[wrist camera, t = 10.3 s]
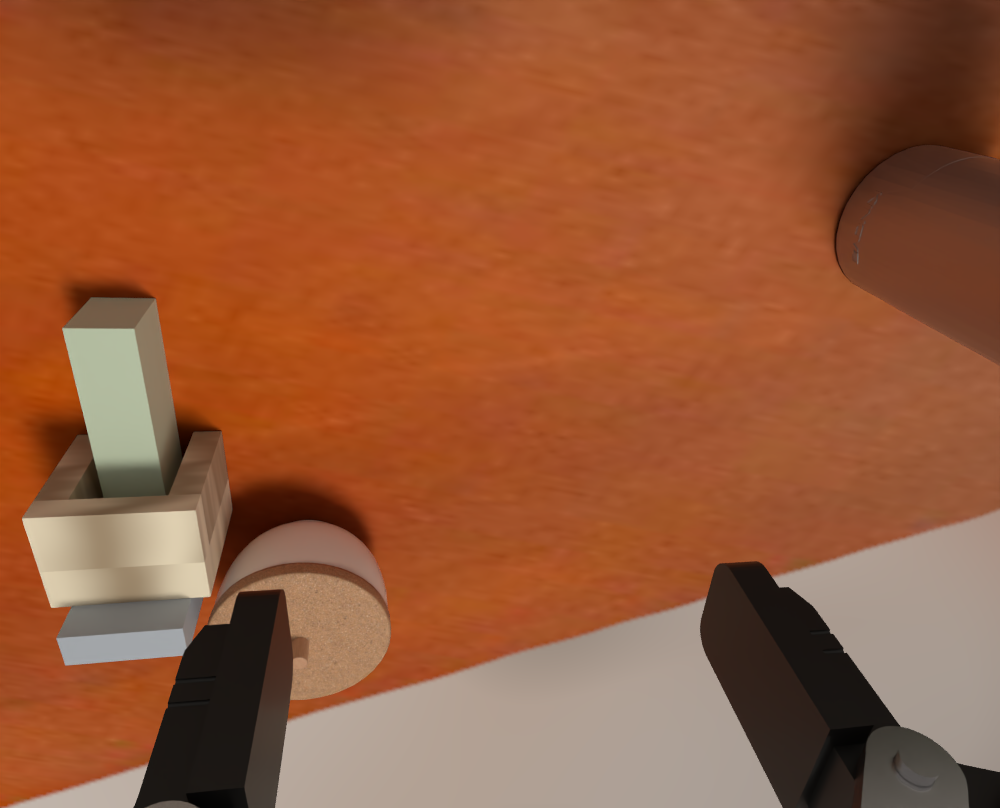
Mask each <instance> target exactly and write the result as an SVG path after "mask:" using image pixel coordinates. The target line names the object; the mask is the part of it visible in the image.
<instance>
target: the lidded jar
mask: <svg viewBox="0 0 1000 808" xmlns="http://www.w3.org/2000/svg"><path fill="white" fill-rule="evenodd" d="M275 589H283V590H284V592H285V596H286V603H287V611H288V618H289V626H290V634H291V641H292V649H293V680H292V689H291V696H290V700H305V699H312V698H319V697H323V696H327V695H331V694H334V693H336V692H339V691H342V690H344V689H346V688H348V687H350V686H352V685H355V684H356V683H357V682H359V681H360V680H362V679H363V678H365V677H366V676H367V675H368V674H369V673H371V672H372V671H373V670H374V669H375V667H376V666H377V665H378V664H379V663H380V662H381V660H382V658H383V657H384V655H385V653H386V652H387V649H388V646H389V643H390V636H391V624H390V614H389V611H388V605H387V595H386V589H385V584H384V580H383V577H382V574H381V571H380V569H379V566H378V563H377V562H376V560H375V558H374V556H373V555H372V553H371V552H370V551H369V549H368V548H367V547H366V546H365V544H364V543H363V542H362V541H360V540H359V539H358V538H357V537H356V536H354V535H353V534H352V533H350V532H348V531H347V530H345V529H343V528H341V527H338V526H336V525H333V524H330V523H327V522H323V521H318V520H299V521H295V522H291V523H286V524H282V525H280V526H277V527H274V528H272V529H270V530H268V531H266V532H264V533H263V534H261V535H259V536H258V537H257V538H255V539H254V540H253V541H251V542H250V543H249V544H248V545H247V546H246V547H245V548H244V549H243V550H242V551H241V552H240V553H239V554H238V556H237V557H236V559H235V560H234V562H233V563H232V565H231V566H230V568H229V570H228V571H227V573H226V576H225V578H224V580H223V582H222V585H221V587H220V589H219V592H218V595H217V598H216V601H215V605H214V608H213V610H212V612H211V615H210V617H209V621H208V625H217V624H230V620H231V616H232V612H233V608H234V604H235V600H236V597H237V595H238V593H239V592H242V591H259V590H275Z"/></svg>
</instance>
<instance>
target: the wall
mask: <svg viewBox="0 0 1000 808" xmlns="http://www.w3.org/2000/svg"><path fill="white" fill-rule="evenodd" d="M202 601H203V597H198V598H184V599H169V600H155V601H141V602H126V603H112V604H98V605H83V606H72V607H71V609H70V611H69V613H68V615H67V618H66V620H65V622H64V624H63V626H62V628H61V630H60V632H59V634H58V636H57V641H58V644H59V647H60V650H61V653H62V656H63V659H64V662H65V665H76V664H88V663H100V662H112V661H124V660H135V659H147V658H159V657H171V656H183V654H184V651H185V649H186V648H187V647H188V646H189V645H190V643H191V642H192V639H193V635H194V631H195V627H196V624H197V620H198V616H199V612H200V609H201V605H202Z"/></svg>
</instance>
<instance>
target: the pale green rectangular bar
mask: <svg viewBox="0 0 1000 808" xmlns="http://www.w3.org/2000/svg"><path fill="white" fill-rule="evenodd" d="M62 329H63V333H64V337H65V342H66V346H67V350H68V354H69V358H70V362H71V366H72V370H73V374H74V378H75V383H76V387H77V391H78V395H79V399H80V403H81V407H82V411H83V415H84V420H85V424H86V428H87V432H88V436H89V440H90V444H91V448H92V452H93V456H94V461H95V465H96V469H97V473H98V477H99V481H100V485H101V489H102V493H103V498H120V497H143V496H166V495H169V493H170V490H171V488H172V485H173V483H174V480H175V478H176V475H177V473H178V470H179V467H180V465H181V462H182V460H183V458H182V452H181V446H180V440H179V434H178V428H177V422H176V416H175V410H174V404H173V398H172V393H171V387H170V381H169V375H168V369H167V363H166V357H165V351H164V345H163V339H162V333H161V327H160V321H159V315H158V310H157V304H156V298H98V297H91V298H90V299H89V300H88V301H87V302H86V303H85V305H84V306H83V307H82V308H81V309H80V310H79V311H78V312H77V313H76V314H75V315H74V316H73V317H72V319H71V320H70V321H69V322H68V323H67V324H66V325H65V326H64V327H63V328H62Z"/></svg>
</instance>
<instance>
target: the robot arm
mask: <svg viewBox="0 0 1000 808" xmlns="http://www.w3.org/2000/svg"><path fill="white" fill-rule="evenodd" d="M836 251H837V256H838V261H839V264H840V266H841V268H842V270H843V272H844V274H845V276H846V277H847V278H848V279H849V280H850V281H851V282H852V283H853V284H855V285H857V286H858V287H860V288H862V289H864V290H865V291H867V292H869V293H871V294H872V295H874V296H876V297H878V298H880V299H881V300H883V301H885V302H887V303H888V304H890V305H892V306H894V307H895V308H897V309H899V310H900V311H902V312H904V313H906V314H908V315H909V316H911V317H913V318H915V319H917V320H918V321H920V322H922V323H924V324H926V325H928V326H929V327H931V328H933V329H935V330H937V331H938V332H940V333H942V334H944V335H946V336H947V337H949V338H951V339H953V340H955V341H956V342H958V343H960V344H962V345H964V346H966V347H967V348H969V349H971V350H973V351H975V352H976V353H978V354H980V355H982V356H984V357H985V358H987V359H989V360H991V361H993V362H994V363H996V364H998V365H1000V160H999V159H996V158H992V157H988V156H983V155H979V154H975V153H970V152H966V151H962V150H957V149H953V148H949V147H944V146H938V145H922V146H916V147H911V148H909V149H906V150H904V151H901V152H899V153H896V154H895V155H893V156H891V157H890V158H888V159H887V160H885V161H883V162H882V163H881V164H879V165H878V166H877V167H876V168H875V169H874V170H873V171H871V172H870V173H869V174H868V175H867V176H866V177H865V179H864V180H863V181H862V182H861V183H860V185H859V186H858V187H857V188H856V189H855V191H854V193H853V194H852V196H851V198H850V199H849V201H848V203H847V204H846V207H845V209H844V212H843V214H842V217H841V219H840V223H839V227H838V232H837V241H836ZM700 633H701V640H702V645H703V648H704V651H705V653H706V656H707V658H708V660H709V662H710V664H711V666H712V668H713V670H714V672H715V674H716V675H717V678H718V680H719V682H720V683H721V686H722V688H723V690H724V692H725V694H726V696H727V697H728V699H729V702H730V704H731V706H732V708H733V710H734V711H735V713H736V715H737V717H738V719H739V721H740V723H741V725H742V727H743V729H744V731H745V733H746V735H747V737H748V739H749V741H750V743H751V745H752V747H753V749H754V751H755V753H756V755H757V757H758V759H759V761H760V763H761V765H762V767H763V769H764V771H765V773H766V775H767V777H768V779H769V781H770V783H771V785H772V787H773V789H774V791H775V793H776V795H777V797H778V799H779V801H780V803H781V805H782V807H783V808H1000V772H996V771H990V770H986V769H981V768H976V767H972V766H967V765H963V764H958V763H956V761H955V760H954V759H953V758H952V757H951V755H950V754H949V753H948V752H947V751H946V750H944V749H943V748H942V747H941V746H940V745H938V744H937V743H936V742H934V741H933V740H931V739H930V738H928V737H926V736H924V735H923V734H921V733H919V732H916V731H914V730H911V729H908V728H904V727H900V725H899V724H898V723H897V721H896V720H895V719H894V717H893V716H892V714H891V713H890V712H889V710H888V709H887V708H886V706H885V705H884V704H883V702H882V701H881V699H880V698H879V696H878V695H877V694H876V692H875V691H874V690H873V688H872V687H871V685H870V684H869V683H868V681H867V680H866V679H865V677H864V676H863V674H862V673H861V672H860V670H859V669H858V668H857V666H856V665H855V663H854V662H853V661H852V660H851V658H850V657H849V655H848V654H847V653H844V651H843V647H842V646H841V644H840V643H839V641H838V640H837V639H836V637H835V636H834V635H833V634H830V629H829V628H828V626H827V625H826V623H825V622H824V621H823V619H822V618H821V617H820V615H819V614H818V612H817V611H816V610H815V608H814V607H813V606H812V605H810V604H809V603H808V602H807V601H806V600H804V599H803V598H802V597H800V596H799V595H798V594H797V593H795V592H794V591H793V590H792V589H790V588H789V587H784V588H779V587H778V585H777V584H776V582H775V581H774V579H773V578H772V576H771V575H770V574H769V572H768V571H767V569H766V568H765V567H764V565H762V564H761V563H760V562H757V561H754V562H738V563H722V564H719V565H717V566H716V568H715V570H714V573H713V577H712V581H711V585H710V588H709V592H708V596H707V599H706V603H705V607H704V611H703V614H702V618H701V625H700ZM175 680H176V682H175V685H173V688H172V691H171V695H170V698H169V701H168V708H167V709H166V710H165V714H164V717H163V720H162V723H161V726H160V729H159V732H158V736H157V739H156V742H155V745H154V748H153V751H152V754H151V758H150V761H149V764H148V767H147V770H146V773H145V777H144V780H143V783H142V786H141V789H140V792H139V795H138V798H137V801H136V803H135V806H134V808H275V803H276V796H277V788H278V781H279V773H280V767H281V760H282V753H283V746H284V739H285V731H286V725H287V718H288V710H289V703H290V696H291V689H292V680H293V649H292V641H291V634H290V626H289V618H288V611H287V603H286V596H285V592H284V590H283V589H275V590H259V591H242V592H239V593H238V595H237V597H236V600H235V604H234V608H233V612H232V616H231V620H230V624H217V625H205V626H204V627H203V629H202V630H201V631H200V632H199V634H198V635H197V636H196V637H195V638H194V640H193V641H192V642H191V643H190V645H189V646H188V647H187V648H186V649H185V651H184V654H183V657H182V660H181V663H180V666H179V669H178V673H177V676H176V679H175Z"/></svg>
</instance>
